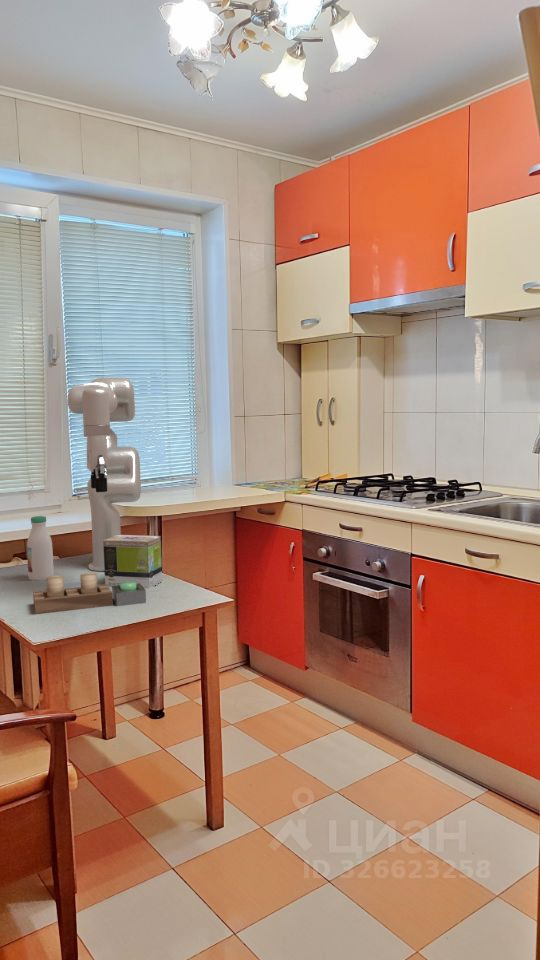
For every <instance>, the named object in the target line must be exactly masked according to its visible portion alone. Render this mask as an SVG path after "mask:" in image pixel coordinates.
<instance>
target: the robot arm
mask: <svg viewBox="0 0 540 960" xmlns="http://www.w3.org/2000/svg"><path fill="white" fill-rule="evenodd" d="M135 401H136V400H135V391H134V386H133V383H132V382H131V380H130V379H129V378H127V377H97V378H95V379H93V380H92V381H91V382H87V383H85V384H79V385H74V386H71V389H70V390H69V392H68V394H67V406H68V408H69V409H68V410H69V411H70V412H71V413H72V414H77V415H80V414H81V415H82V423H83V424H82V425H83V437H84V438H86V468H87V470H89V471H90V479H89V480H88V482H87V485H86V486H87V489H86V490H87V494H88V499H89V507H90V514H91V515H90V517H91V541H92V543H91V544H92V562H91V563H89V564H88V569H89V570H90V571H95V572H104V548H103V540H105V539H108V538H111V537H113V536H116V535H122V534H121V533H122V531H121V530H122V529H121V527H122V526H121V515H120V513H119V511H118V510H117V508H116V507H115V506H114V505H113V504H117V503H133V502H137V501H139V500H140V497H141V495H142V494H141V493H142V488H141V487H142V486H141V485H142V484H141V481H142V480H141V461H140V455H139V451H138V450H137V449H136V448H135V447H132V446H118V435H117V434H116V433H115V432H114V430H113V429H112V428H111V423H117V422H118V423H125V422H130V421H132V420H134V417H135V415H136V405H135Z"/></svg>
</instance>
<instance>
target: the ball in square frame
mask: <svg viewBox="0 0 540 960" xmlns="http://www.w3.org/2000/svg"><path fill="white" fill-rule="evenodd" d="M136 589H137V590H130V591H121V590H120V586H111V592H112V602H113V603H114V604H115V605H116V607H120V606H129V605H138V604H146V603H147V593H146V592H147V591H146V588H143V587H142V585H141V584H140V583H139V584H136Z"/></svg>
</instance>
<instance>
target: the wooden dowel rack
mask: <svg viewBox="0 0 540 960" xmlns="http://www.w3.org/2000/svg"><path fill="white" fill-rule="evenodd" d="M32 598H33V599H32V601H33V607H34V613H35V615H40V614H49V613H58V612H59V613H60V612H67V611H68V612H69V611H75V610H85V609H93V608H94V609H95V608H103V607H111V606H113V605H114V604H113V603H114V602H113V599H112V589H111V588H110V586H107V584H105V583H104V584H97V593H88V594H81V587H74V588H65V589H64V596H60V597H51V598H47V589H46V590H38V591H37V590H36V591H33V592H32Z"/></svg>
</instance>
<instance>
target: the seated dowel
mask: <svg viewBox="0 0 540 960" xmlns="http://www.w3.org/2000/svg"><path fill="white" fill-rule="evenodd" d="M79 576H80V577H79V579H80V581H81V594H88V593H97V585H98V579H97V578H98V573H97V572H84V573H80V575H79Z"/></svg>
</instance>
